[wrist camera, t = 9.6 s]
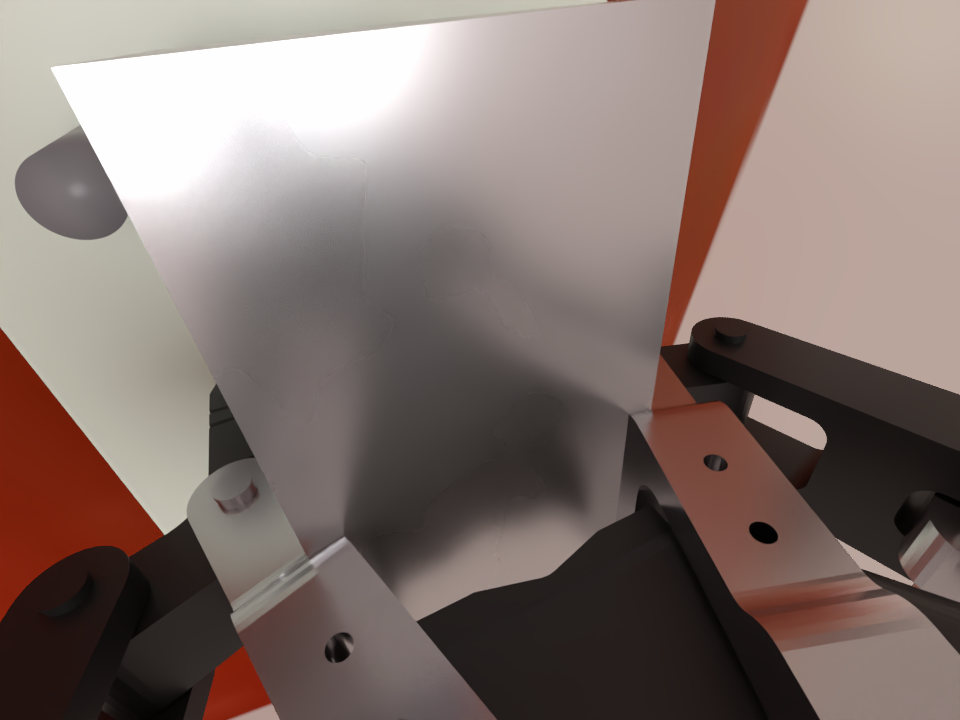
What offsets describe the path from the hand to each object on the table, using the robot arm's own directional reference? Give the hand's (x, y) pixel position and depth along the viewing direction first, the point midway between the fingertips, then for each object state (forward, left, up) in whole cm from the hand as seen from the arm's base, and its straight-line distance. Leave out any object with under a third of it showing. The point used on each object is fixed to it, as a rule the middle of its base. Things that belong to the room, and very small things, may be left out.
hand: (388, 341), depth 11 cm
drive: (0, 0, -1) cm, 1 cm away
